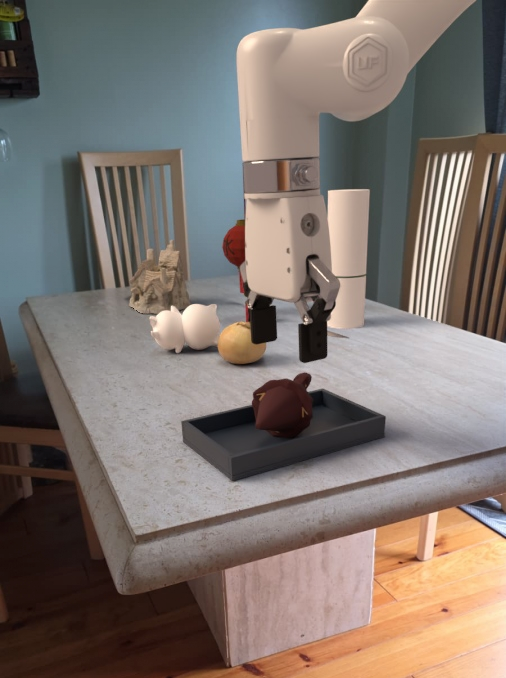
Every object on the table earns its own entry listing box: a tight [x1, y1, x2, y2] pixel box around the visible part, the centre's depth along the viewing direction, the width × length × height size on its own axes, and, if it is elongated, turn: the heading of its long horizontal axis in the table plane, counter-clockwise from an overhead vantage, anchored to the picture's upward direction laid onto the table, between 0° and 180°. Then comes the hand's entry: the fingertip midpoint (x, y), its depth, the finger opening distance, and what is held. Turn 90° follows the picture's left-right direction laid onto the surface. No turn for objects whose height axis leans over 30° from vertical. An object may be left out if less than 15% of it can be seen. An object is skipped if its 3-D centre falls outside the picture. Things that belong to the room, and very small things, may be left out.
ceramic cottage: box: [128, 239, 192, 315], centre depth 143 cm, size 16×16×15 cm
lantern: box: [221, 180, 250, 323], centre depth 122 cm, size 10×10×30 cm
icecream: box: [251, 371, 314, 438], centre depth 71 cm, size 7×7×15 cm
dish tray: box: [180, 387, 387, 482], centre depth 72 cm, size 12×20×3 cm, turn 120°
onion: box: [217, 320, 267, 365], centre depth 101 cm, size 8×8×7 cm
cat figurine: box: [149, 303, 221, 354], centre depth 110 cm, size 9×11×12 cm
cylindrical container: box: [327, 188, 371, 339], centre depth 113 cm, size 7×7×25 cm
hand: (287, 350), depth 68 cm, fingers open, 9 cm apart
